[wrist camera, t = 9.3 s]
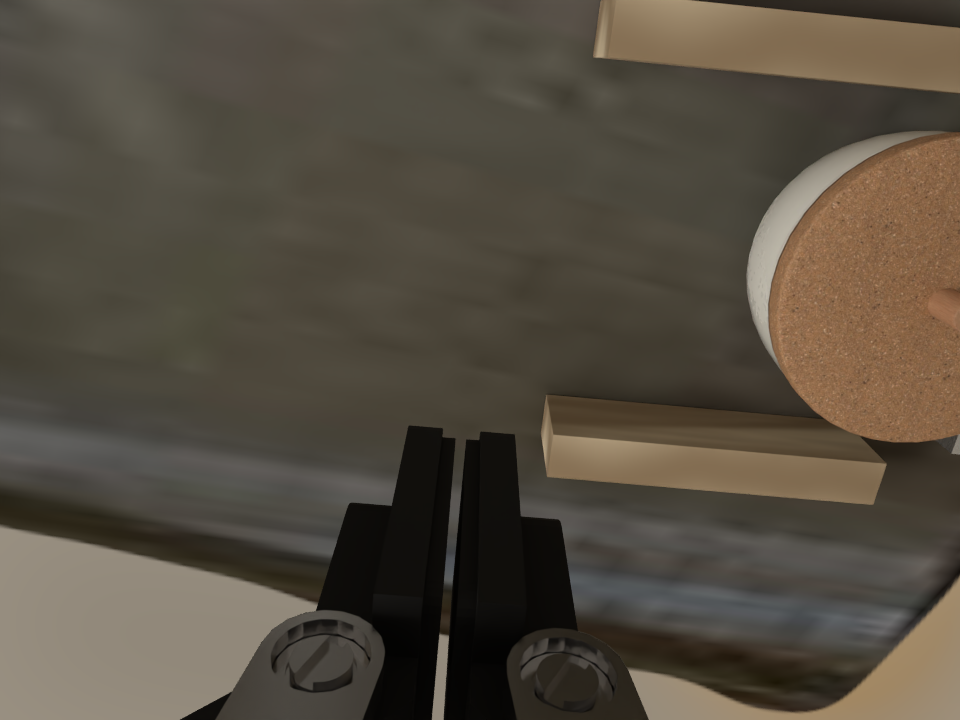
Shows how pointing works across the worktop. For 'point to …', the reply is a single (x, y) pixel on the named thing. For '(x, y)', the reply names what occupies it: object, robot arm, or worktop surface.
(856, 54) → the bar
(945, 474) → the worktop surface
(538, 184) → the worktop surface
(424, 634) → the robot arm
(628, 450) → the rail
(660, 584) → the worktop surface
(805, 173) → the lidded jar
